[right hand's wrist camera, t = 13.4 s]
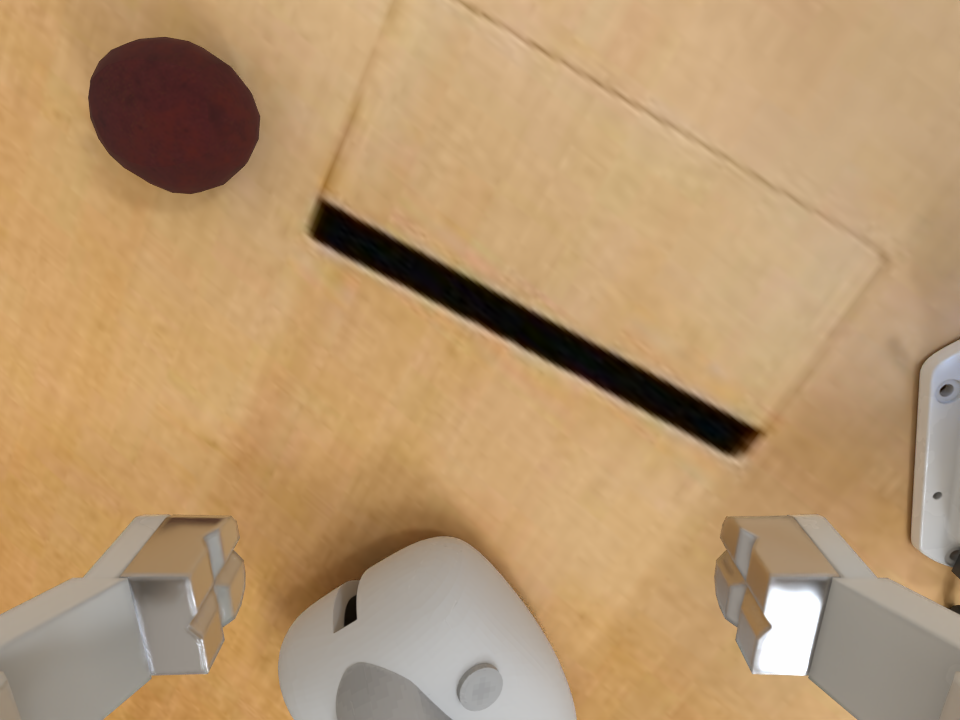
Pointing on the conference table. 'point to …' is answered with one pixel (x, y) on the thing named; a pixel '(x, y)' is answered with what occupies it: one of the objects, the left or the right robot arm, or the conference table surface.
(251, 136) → the potato
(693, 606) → the conference table surface
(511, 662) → the white rounded slotted device
